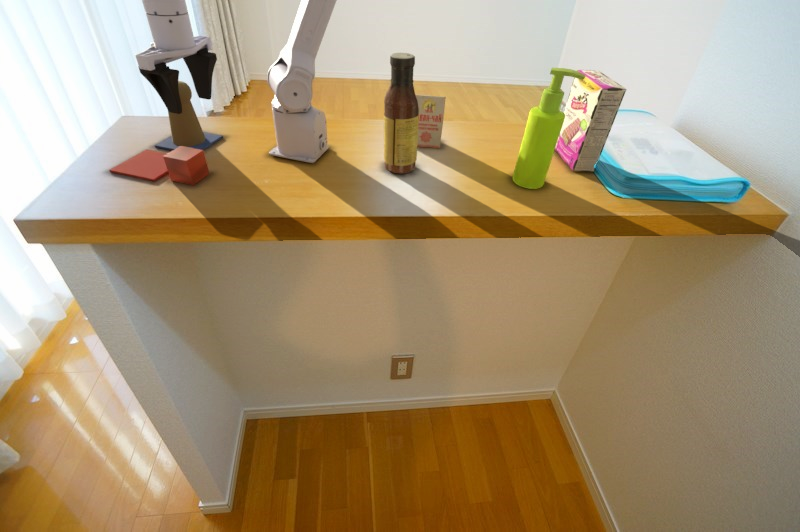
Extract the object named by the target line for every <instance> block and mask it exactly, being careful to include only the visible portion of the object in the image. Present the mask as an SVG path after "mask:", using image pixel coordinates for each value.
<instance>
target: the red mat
mask: <svg viewBox="0 0 800 532" xmlns="http://www.w3.org/2000/svg"><path fill="white" fill-rule="evenodd" d="M166 154H168V153H167V152H162V151H157V150H152V149H145V150H142V151H141V152H139V153H137V154H136V155H134V156H132V157H130V158H128V159H126V160H125V161H123V162H121V163H119V164H117V165H115V166H114V167H112V168H110V169H108V171H109V173H114V174H118V175H121V176H126V177H131V178H135V179H141V180H146V181H151V182H155V181H157V180H159V179H161V178H162V177H164V176H166V175H167V174H169V173H168V170H167V167H166V164H165V161H164V158H163V156H164V155H166Z"/></svg>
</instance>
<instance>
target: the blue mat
mask: <svg viewBox="0 0 800 532" xmlns="http://www.w3.org/2000/svg"><path fill="white" fill-rule="evenodd" d="M203 133H204V136H205V138H206V139H205V141H204V142H203V143H201V144H199V145H196V146H188V147H190V148H195V149H200V150H206V149H207V148H210V146H212V145H213V144H215V143H217V142H218V141H219V140H222V139H223V138H224V135H222V134H217V133H211V132H205V131H203ZM153 146H154V148H157V149H163V150H167V151H173V150H174V149H176V148H178V147H180V146H177V145H175V144H174V143H173V141H172V135H171V136H168V137H167V138H165V139H163V140H161V141H159V142H157V143H156V144H154V145H153Z"/></svg>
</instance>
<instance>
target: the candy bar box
mask: <svg viewBox="0 0 800 532" xmlns="http://www.w3.org/2000/svg"><path fill="white" fill-rule="evenodd" d="M576 71H578V72H580V73H582V74H584V75H585V79H583V80H580V79H578V78H575V77H573V81H572V85H571V87H570V91H569V94H568V98H567V101H566V104H565V108H564V111H563V113H564V114H565V119H564V122H563V125H562V128H561V132H560V135H559V138H558V141H557V144H556V147H555V150H554V152H556V154H558V156H559V157H560V158H561V159H562V160H563V161H564V163H565V164H566V165H567V167H569V168H570V170H571V171H572V172H576V173H583V172H584V173H585V172H589V173H590V172H591V173H592V172H595V171H596V168H594V165H595V164H596V162H597V161H598V159H599V160H600V158H601V155H602V153H603V150H604V148H605V145H606V142H607V140H608V138H609V134H610V132H611V129H612V128H613V125H614V122H615V119H616V117H617V115H618V112H619V110H620V107H621V104H622V101H623V99H624V97H625V94H626V92H627V88H626V87H624V86H623V85H621V84H619V83H618V82H617V81H615V80H613V78H610V77H609V76H607V75H606V74H604V73H603V72H602V71H600V70H595V69H594V70H592V69H577V70H576ZM598 162H599V161H598Z"/></svg>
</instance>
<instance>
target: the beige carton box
mask: <svg viewBox="0 0 800 532" xmlns="http://www.w3.org/2000/svg"><path fill="white" fill-rule="evenodd" d="M415 95H416V98H417V100H418V107H419V118H418V139H417V147H420V148H433V149H441V141H442V134H443V126H444V117H445V108H446V99H447V98H446V96H440V95H438V96H437V95H429V94H416V93H415Z"/></svg>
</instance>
